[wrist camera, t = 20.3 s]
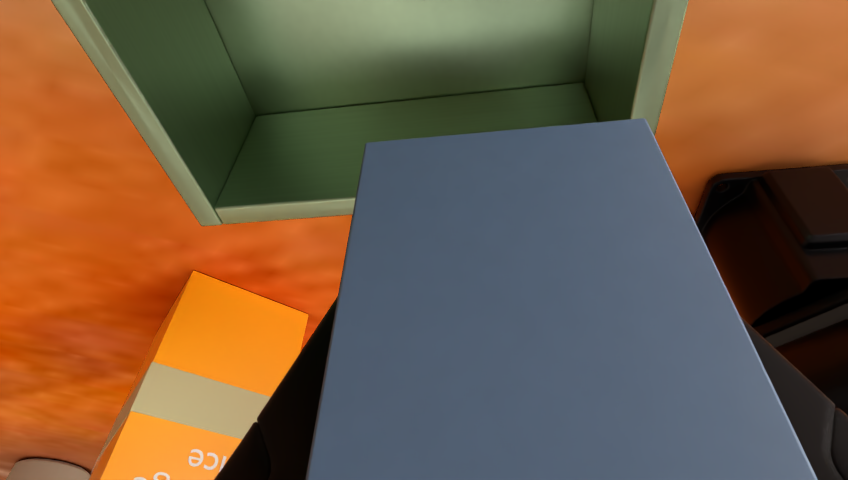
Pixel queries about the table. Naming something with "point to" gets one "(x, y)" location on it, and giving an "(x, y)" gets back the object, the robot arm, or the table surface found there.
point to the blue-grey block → (539, 321)
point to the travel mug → (46, 470)
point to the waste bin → (358, 83)
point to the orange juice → (201, 383)
